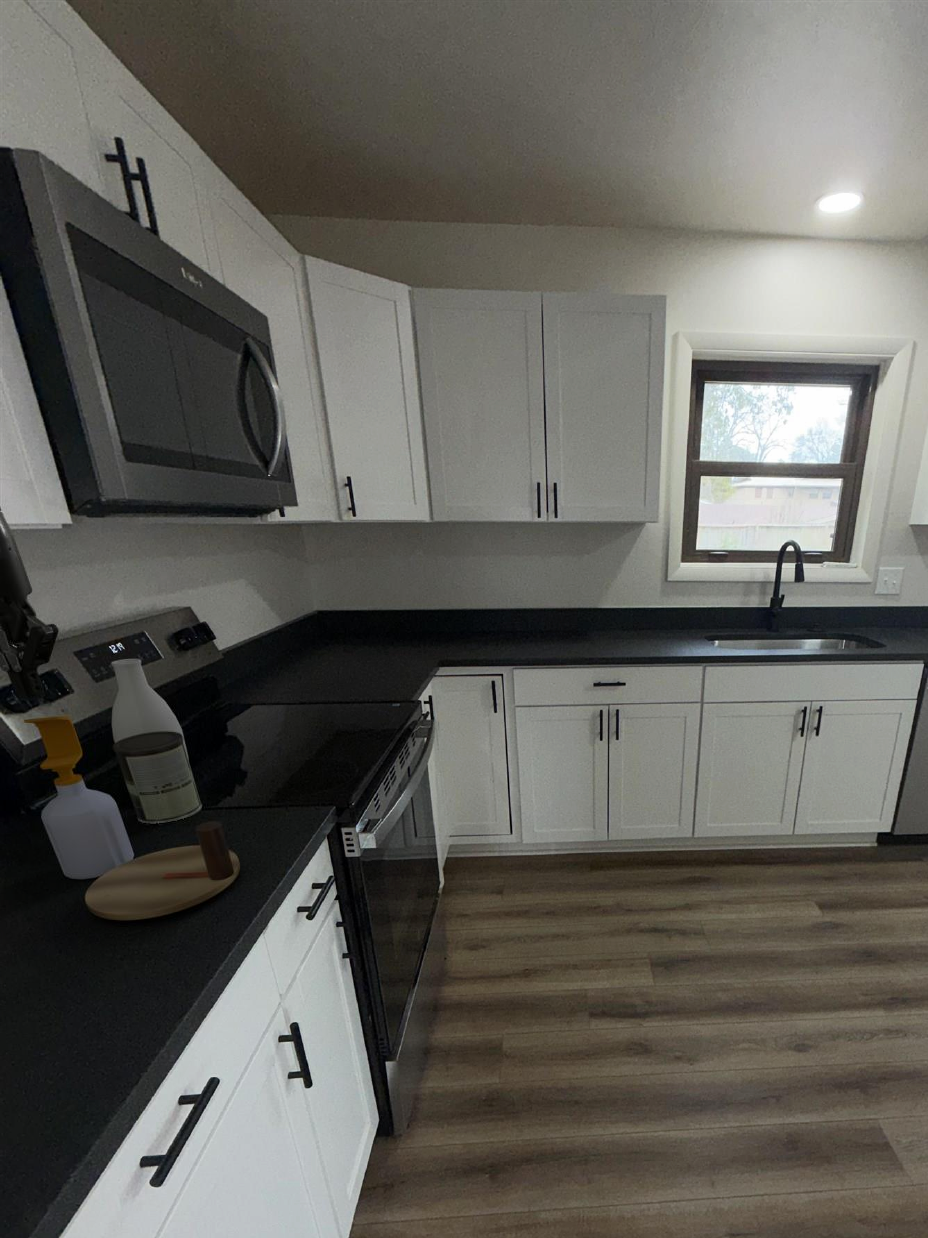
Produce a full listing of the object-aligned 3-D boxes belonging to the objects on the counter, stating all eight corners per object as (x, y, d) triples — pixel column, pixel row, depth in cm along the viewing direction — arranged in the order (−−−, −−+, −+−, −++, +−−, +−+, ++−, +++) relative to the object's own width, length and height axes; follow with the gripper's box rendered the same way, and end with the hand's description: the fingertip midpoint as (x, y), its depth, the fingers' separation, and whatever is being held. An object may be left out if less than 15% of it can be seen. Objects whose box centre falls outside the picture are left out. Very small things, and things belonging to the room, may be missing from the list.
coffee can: (122, 822, 114) (97, 748, 108) (169, 798, 123) (147, 729, 117) (172, 827, 112) (148, 752, 106) (215, 803, 121) (195, 732, 116)
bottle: (156, 803, 122) (114, 670, 111) (118, 793, 126) (74, 664, 115) (209, 781, 131) (175, 657, 120) (172, 773, 135) (136, 652, 124)
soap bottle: (56, 886, 95) (-9, 728, 85) (73, 858, 103) (15, 710, 92) (128, 873, 98) (73, 720, 88) (139, 847, 106) (90, 703, 96)
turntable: (105, 865, 98) (86, 812, 94) (244, 841, 105) (231, 791, 101) (69, 934, 82) (44, 874, 78) (235, 901, 89) (219, 844, 85)
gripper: (56, 552, 77) (102, 693, 84) (-36, 551, 79) (17, 689, 86) (-8, 557, 70) (49, 710, 77) (-106, 555, 72) (-42, 704, 79)
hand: (32, 698), depth 82 cm, fingers closed
